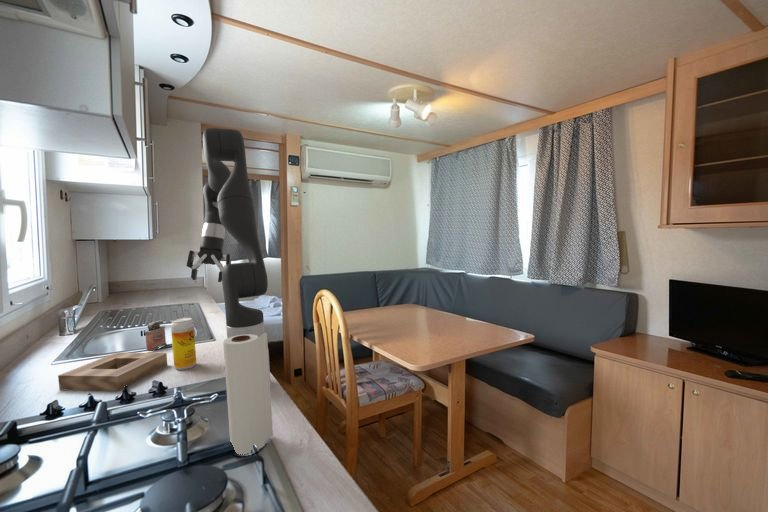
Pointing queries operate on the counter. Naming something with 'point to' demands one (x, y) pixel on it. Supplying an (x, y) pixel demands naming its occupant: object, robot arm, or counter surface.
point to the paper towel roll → (248, 391)
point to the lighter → (155, 336)
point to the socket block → (112, 371)
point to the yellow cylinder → (183, 343)
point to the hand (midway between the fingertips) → (207, 281)
